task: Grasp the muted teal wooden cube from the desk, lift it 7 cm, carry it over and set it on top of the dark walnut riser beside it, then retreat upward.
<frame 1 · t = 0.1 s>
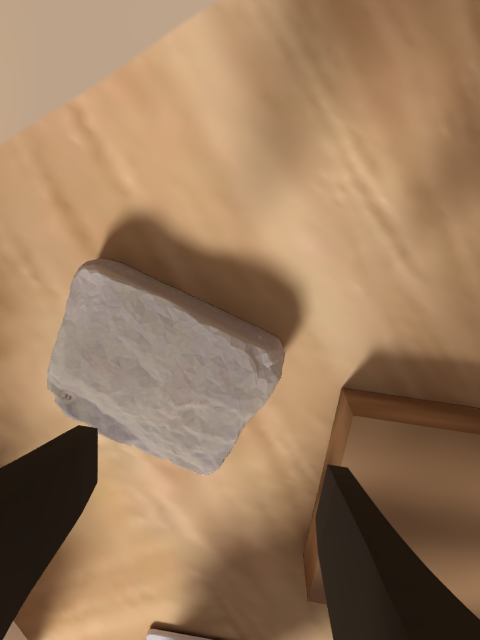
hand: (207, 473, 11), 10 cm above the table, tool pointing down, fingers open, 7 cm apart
walnut riser: (423, 495, 22), on the table
stone block: (169, 363, 22), on the table
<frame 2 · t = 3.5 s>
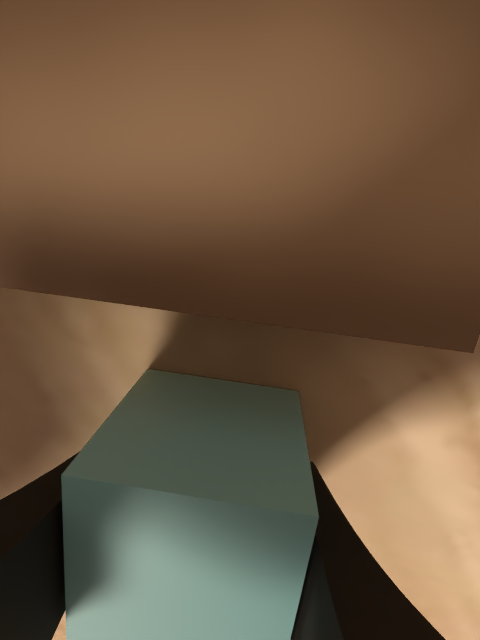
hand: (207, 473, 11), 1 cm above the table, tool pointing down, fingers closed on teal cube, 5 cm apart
walnut riser: (222, 32, 9), on the table
teal cube: (214, 444, 12), on the table, touching gripper
when the fingers open (6 cm above the table, at t = 7.9 s): teal cube drops 1 cm, resting on walnut riser.
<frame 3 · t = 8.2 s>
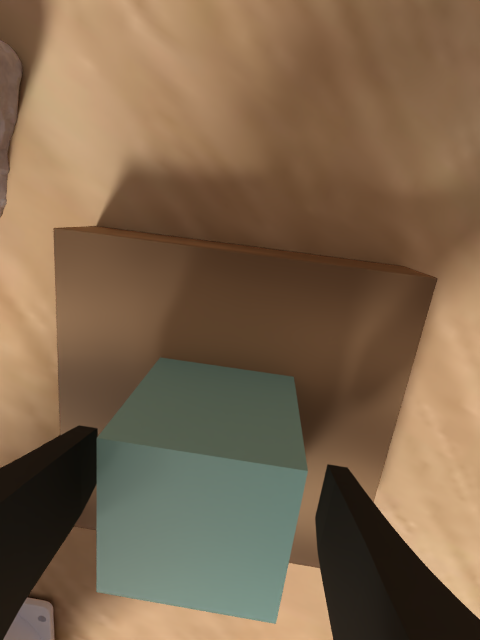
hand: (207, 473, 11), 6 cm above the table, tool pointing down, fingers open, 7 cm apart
walnut riser: (229, 385, 16), on the table
teal cube: (219, 425, 14), point 3 cm above the table, touching walnut riser
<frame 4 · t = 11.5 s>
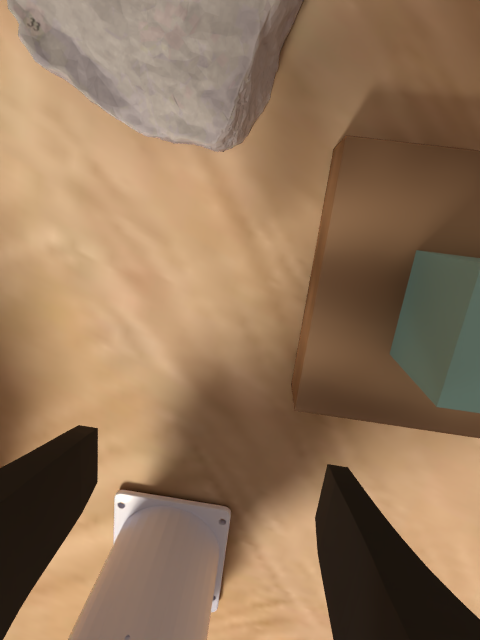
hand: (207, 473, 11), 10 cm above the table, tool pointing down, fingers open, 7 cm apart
walnut riser: (430, 294, 19), on the table
teal cube: (457, 311, 16), point 3 cm above the table, touching walnut riser
stone block: (167, 30, 17), on the table
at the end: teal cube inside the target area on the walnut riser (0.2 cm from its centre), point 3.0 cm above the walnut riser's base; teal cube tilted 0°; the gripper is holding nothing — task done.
